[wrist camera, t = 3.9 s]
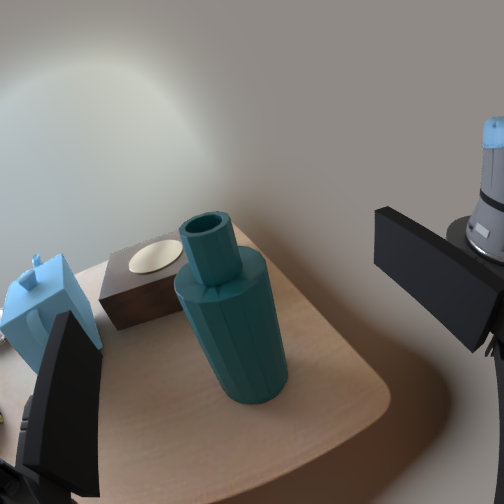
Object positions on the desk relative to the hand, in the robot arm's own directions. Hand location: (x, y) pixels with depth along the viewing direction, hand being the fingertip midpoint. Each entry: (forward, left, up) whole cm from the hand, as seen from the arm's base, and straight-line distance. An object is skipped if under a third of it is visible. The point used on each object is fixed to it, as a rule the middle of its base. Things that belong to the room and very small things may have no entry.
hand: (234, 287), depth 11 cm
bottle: (0, -10, -19) cm, 21 cm away
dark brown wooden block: (+8, -31, -19) cm, 38 cm away
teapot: (+26, -26, -19) cm, 41 cm away
